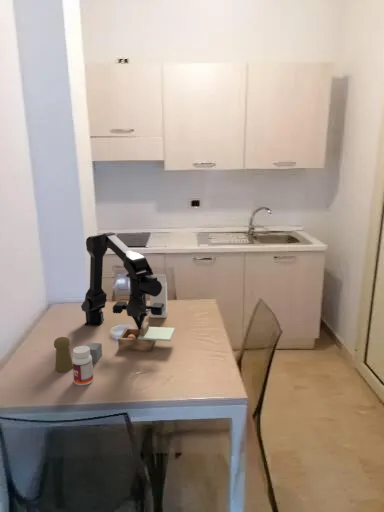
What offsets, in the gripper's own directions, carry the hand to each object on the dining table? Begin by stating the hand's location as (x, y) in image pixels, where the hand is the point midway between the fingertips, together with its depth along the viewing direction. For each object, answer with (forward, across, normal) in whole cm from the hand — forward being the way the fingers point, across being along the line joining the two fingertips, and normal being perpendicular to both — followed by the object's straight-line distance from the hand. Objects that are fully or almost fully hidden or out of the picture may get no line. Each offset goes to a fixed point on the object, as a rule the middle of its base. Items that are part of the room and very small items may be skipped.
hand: (139, 329), depth 156 cm
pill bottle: (+7, -12, -27) cm, 30 cm away
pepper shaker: (+7, -22, -20) cm, 30 cm away
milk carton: (+7, 0, +30) cm, 31 cm away
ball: (+4, -4, 0) cm, 5 cm away
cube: (+7, -14, -12) cm, 20 cm away
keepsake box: (+7, -1, 0) cm, 7 cm away
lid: (+2, +7, 0) cm, 7 cm away
